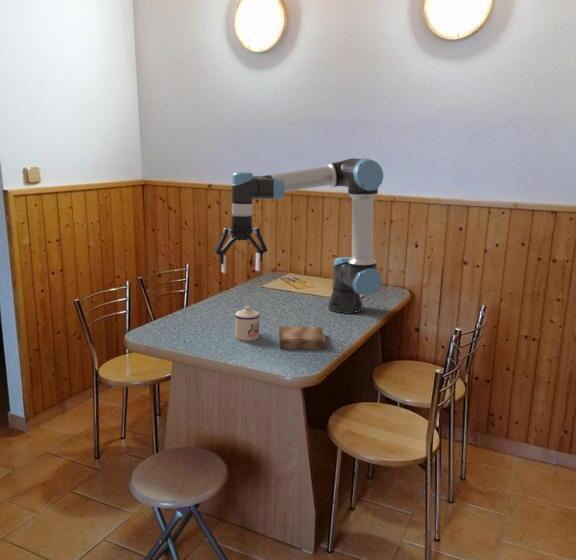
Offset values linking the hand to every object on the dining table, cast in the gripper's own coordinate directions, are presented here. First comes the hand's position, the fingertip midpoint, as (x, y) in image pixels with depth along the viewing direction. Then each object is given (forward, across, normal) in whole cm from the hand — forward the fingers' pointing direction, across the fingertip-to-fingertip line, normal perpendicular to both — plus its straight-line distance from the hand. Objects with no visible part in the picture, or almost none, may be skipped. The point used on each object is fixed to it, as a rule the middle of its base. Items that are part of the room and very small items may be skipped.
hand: (240, 271), depth 207 cm
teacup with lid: (+22, 0, +10) cm, 25 cm away
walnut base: (+22, -16, +22) cm, 35 cm away
